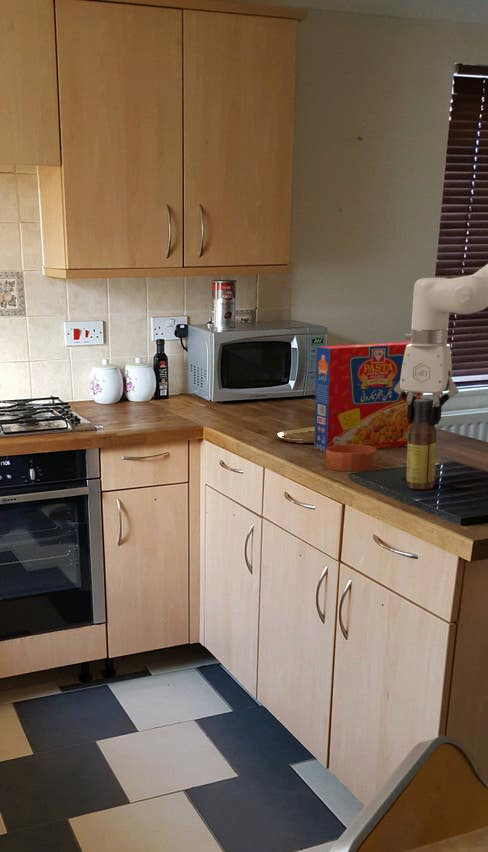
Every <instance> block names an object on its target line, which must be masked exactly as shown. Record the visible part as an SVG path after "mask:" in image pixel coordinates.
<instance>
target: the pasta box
mask: <svg viewBox="0 0 488 852" xmlns="http://www.w3.org/2000/svg"><path fill="white" fill-rule="evenodd" d="M407 345H411V342H410V341H398V342H383V343H382V342H379V343H363V344H362V343H361V344H345V345H344V344H343V345H326V346H325V345H324V346H316V368H315V369H316V371H315V404H314V405H315V411H314V427H315V444H313V446H314V447H316V448H318V449H320V450H322V451H325V450H326V448H327V447H329V446H334V445H345V444H356V445H367V446H372V447H375V448H376V449H377V450H381V449H380V448H384V449H388V448H387V447H396V446H405V445H408V436H409V431H410V428H411V426H412V424H413V423H411V424H410V423H408V419H407V409H408V405H406V402H405V401H404V400H403V398H402V397H401V395H399V394H398V393H397V392H396V391H394V387H395V386H396V385H397V383H398V382H399V381H400V379H401V370H402V364H403V358H404V354H405V350H406V346H407ZM416 399H422V393H420V392H418V395H417V398H416ZM314 447H313V448H314ZM396 448H397V447H396ZM322 451H321V452H322Z"/></svg>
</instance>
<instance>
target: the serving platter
mask: <svg viewBox="0 0 488 852" xmlns="http://www.w3.org/2000/svg"><path fill="white" fill-rule="evenodd" d="M308 431H315V426H309V427H303V428H297V429H289V430H283V431H279V432H278V433H277V434H276V435H277V438H279V440H281V441H283V440H285V441H290V442H303V443H314V442H315V439H314V440H303V439H290V438H284V437H282V436H284V435H287V434H293V433H300V432H308ZM285 441H284V442H285Z"/></svg>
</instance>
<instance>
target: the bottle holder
mask: <svg viewBox="0 0 488 852" xmlns="http://www.w3.org/2000/svg"><path fill="white" fill-rule="evenodd" d="M377 453H378V449H376V448H375V447H372V446H367V445H356V444H345V445H334V446H329V447H327V448H326V450H325V453H324V466H325V467H324V468H326V469H329V470H331V471H336V472H337V471H338V472H365V471H366V472H367V471H371V470H374V469H375V468H377V458H378V457H377V455H378V454H377Z"/></svg>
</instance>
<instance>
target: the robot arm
mask: <svg viewBox="0 0 488 852" xmlns="http://www.w3.org/2000/svg"><path fill="white" fill-rule="evenodd" d="M412 297H413V299H412V315H411V316H412V317H411V329H410V331H409V332H405V334H404V338H405V339H406V340H409V342H411V345H407V346H406V350H405V354H404V358H403V364H402V370H401V379H400V381H399V382H398V383H397V385H396V386H395V387H394V391H396V392H397V393H398V394H399V395H401V397H402V398H403V400H404V401H405V402H406V405H408V409H407V419H408V423H410V424H411V423H413V421H414V413H415V407H414V400H416V398H417V395H418V392H420V393H421V394H423V393H424V394H432V398H433V406H432V408H431V423H430V424H431V425H434V426H436V425H439V423H440V421H441V420H442V410H443V409H442V408H443V406H444V405H445V403H447V402H448V401H449V400H450V399H451V398H453V397H455V396H456V395H457V394H459V392H460V391H459V388H458V387H457V385H456V383H455V382H454V380H453V378H452V377H453V376H452V375H453V365H452V352H451V351H452V350H451V345H450V344H448V333H449V322H450V314H451V313H452V314H458V315H469V314H470V315H471V314H474V313H477V312H481V311H483V310H485V309H487V308H488V263H486V265H484V266H482V267H481V268H480V269H478V270H477V271H476V272H474V273H473V274H471V275H464V276H458V277H451V278H447V277H422V278H419V279H417V280H416V281H415V283H414V285H413V296H412ZM446 391H448V392H446ZM444 392H446V393H445V394H444Z"/></svg>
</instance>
